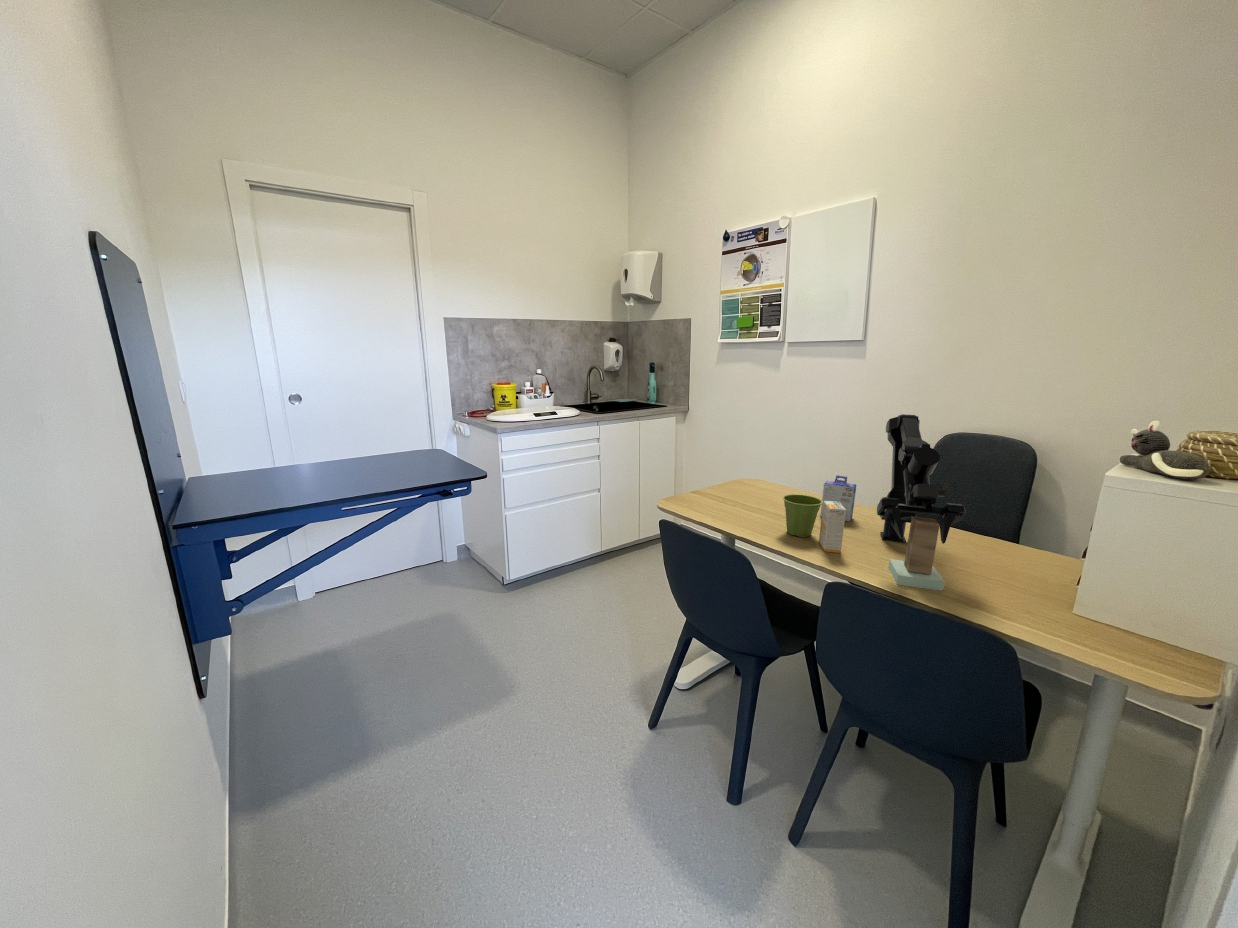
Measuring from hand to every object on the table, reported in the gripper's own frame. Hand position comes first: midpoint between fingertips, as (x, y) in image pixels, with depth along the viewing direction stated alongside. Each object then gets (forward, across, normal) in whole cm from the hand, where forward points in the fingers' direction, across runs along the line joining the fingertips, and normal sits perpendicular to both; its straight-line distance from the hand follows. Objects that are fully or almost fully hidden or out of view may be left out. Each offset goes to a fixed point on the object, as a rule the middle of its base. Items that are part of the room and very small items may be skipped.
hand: (922, 540), depth 120 cm
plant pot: (-10, -27, +26) cm, 38 cm away
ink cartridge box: (-25, -13, +40) cm, 49 cm away
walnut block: (+5, 0, +7) cm, 8 cm away
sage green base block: (+7, 0, +9) cm, 12 cm away
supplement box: (-4, -18, +19) cm, 27 cm away
